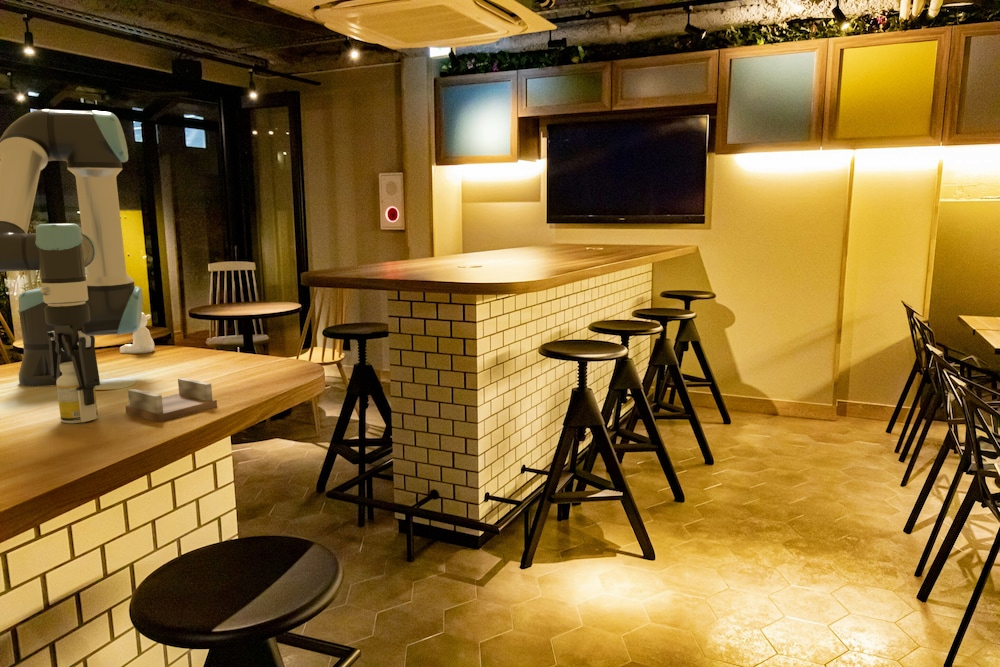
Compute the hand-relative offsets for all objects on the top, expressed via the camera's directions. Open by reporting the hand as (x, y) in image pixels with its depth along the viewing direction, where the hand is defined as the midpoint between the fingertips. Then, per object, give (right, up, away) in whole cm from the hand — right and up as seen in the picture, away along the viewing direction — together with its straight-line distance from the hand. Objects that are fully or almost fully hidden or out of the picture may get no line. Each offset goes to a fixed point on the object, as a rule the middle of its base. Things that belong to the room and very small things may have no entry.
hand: (79, 417), depth 143 cm
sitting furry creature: (-22, +11, +70) cm, 74 cm away
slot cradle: (+16, +1, +7) cm, 17 cm away
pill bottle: (0, -1, 0) cm, 1 cm away
